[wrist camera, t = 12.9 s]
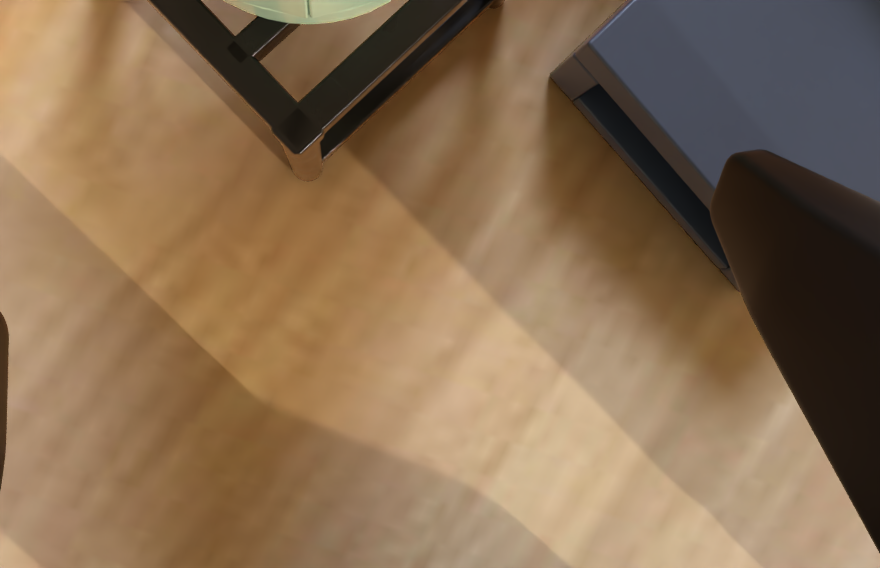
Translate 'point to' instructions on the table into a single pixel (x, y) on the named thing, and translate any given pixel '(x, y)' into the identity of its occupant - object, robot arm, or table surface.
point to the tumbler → (307, 9)
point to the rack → (343, 90)
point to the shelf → (732, 94)
